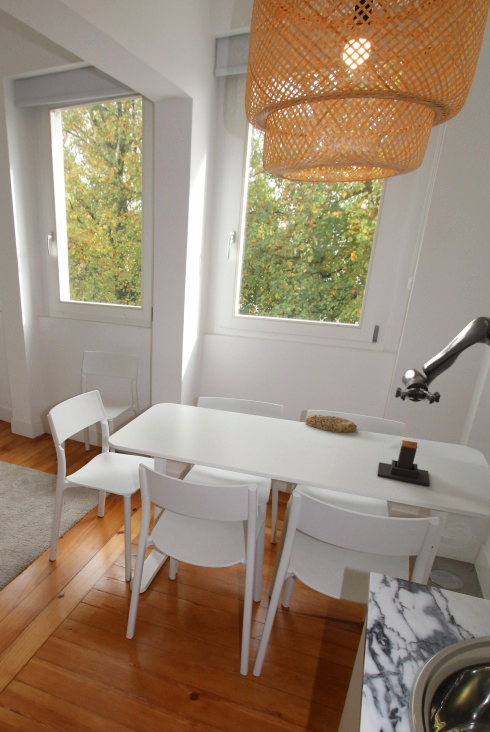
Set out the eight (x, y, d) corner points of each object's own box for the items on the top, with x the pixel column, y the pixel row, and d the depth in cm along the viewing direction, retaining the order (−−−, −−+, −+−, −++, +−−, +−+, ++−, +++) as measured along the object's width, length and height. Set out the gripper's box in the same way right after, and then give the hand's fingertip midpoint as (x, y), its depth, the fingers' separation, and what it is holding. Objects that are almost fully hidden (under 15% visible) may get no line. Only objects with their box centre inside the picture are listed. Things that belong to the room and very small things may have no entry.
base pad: (427, 473, 168) (429, 464, 167) (428, 486, 158) (431, 476, 157) (378, 464, 175) (380, 455, 173) (377, 476, 165) (379, 467, 163)
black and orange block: (410, 471, 167) (417, 442, 163) (410, 475, 163) (417, 446, 159) (395, 468, 169) (402, 440, 165) (395, 473, 165) (402, 444, 161)
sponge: (303, 432, 210) (348, 436, 196) (303, 414, 209) (349, 417, 195) (315, 429, 219) (359, 433, 206) (316, 413, 218) (360, 415, 205)
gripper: (398, 377, 181) (397, 386, 168) (440, 382, 175) (443, 391, 162) (394, 396, 184) (393, 406, 171) (435, 401, 178) (438, 412, 165)
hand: (417, 399), depth 166 cm, fingers open, 8 cm apart
